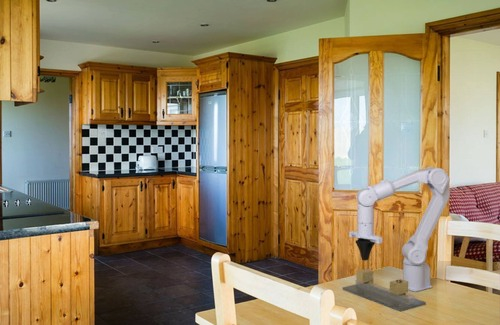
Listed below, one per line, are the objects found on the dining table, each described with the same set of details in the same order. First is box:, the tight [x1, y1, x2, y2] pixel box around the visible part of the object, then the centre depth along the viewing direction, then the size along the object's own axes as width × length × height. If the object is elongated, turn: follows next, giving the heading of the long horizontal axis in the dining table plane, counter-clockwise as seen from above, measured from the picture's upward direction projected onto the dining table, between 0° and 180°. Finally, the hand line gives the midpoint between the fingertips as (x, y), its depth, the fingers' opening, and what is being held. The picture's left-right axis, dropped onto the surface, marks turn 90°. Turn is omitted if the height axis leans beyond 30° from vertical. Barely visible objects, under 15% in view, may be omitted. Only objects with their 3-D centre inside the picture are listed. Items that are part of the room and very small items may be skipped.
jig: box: [342, 268, 426, 312], centre depth 163 cm, size 12×26×7 cm, turn 32°
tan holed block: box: [389, 278, 409, 295], centre depth 158 cm, size 6×3×6 cm, turn 122°
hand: (365, 259), depth 174 cm, fingers closed
